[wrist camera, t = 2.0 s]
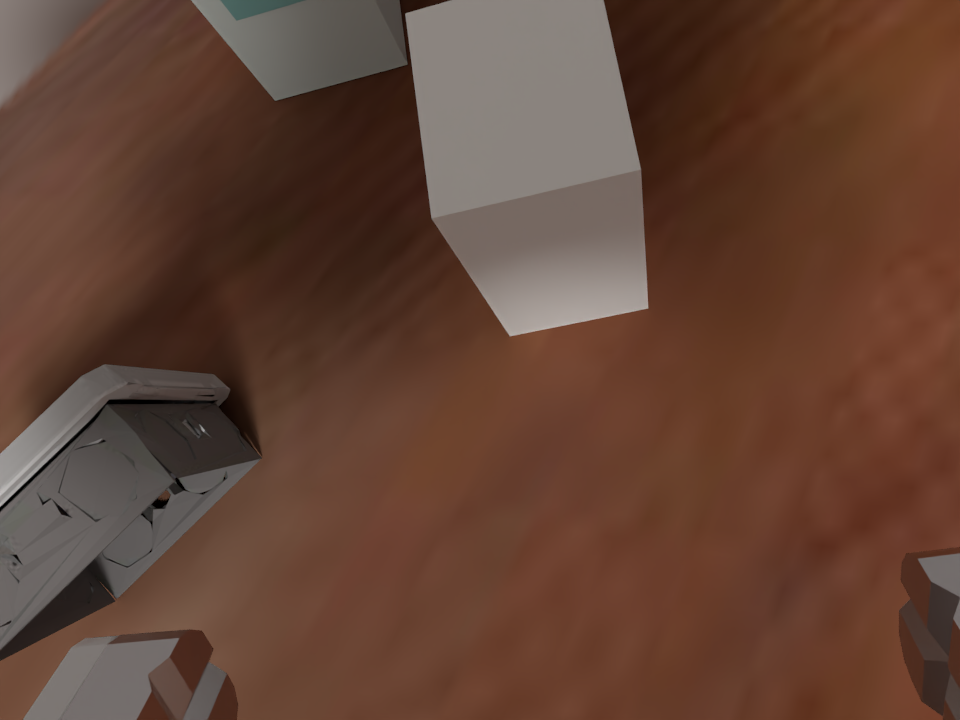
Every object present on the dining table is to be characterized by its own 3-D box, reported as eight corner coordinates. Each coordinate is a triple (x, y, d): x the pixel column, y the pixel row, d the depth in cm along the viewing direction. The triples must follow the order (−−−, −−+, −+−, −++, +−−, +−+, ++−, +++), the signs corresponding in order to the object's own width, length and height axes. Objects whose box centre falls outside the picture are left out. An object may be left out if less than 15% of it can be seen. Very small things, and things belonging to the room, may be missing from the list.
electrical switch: (225, 373, 30) (60, 317, 21) (307, 469, 29) (170, 453, 20) (52, 541, 30) (-187, 557, 21) (127, 644, 29) (-94, 709, 20)
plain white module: (615, 155, 29) (593, -46, 19) (648, 308, 27) (641, 169, 17) (486, 186, 29) (404, 8, 20) (509, 336, 28) (431, 218, 18)
